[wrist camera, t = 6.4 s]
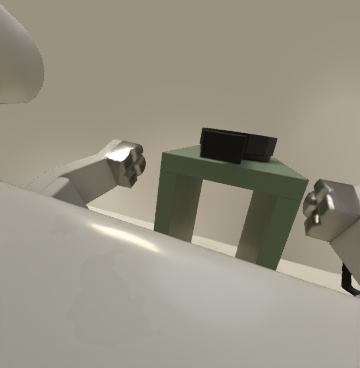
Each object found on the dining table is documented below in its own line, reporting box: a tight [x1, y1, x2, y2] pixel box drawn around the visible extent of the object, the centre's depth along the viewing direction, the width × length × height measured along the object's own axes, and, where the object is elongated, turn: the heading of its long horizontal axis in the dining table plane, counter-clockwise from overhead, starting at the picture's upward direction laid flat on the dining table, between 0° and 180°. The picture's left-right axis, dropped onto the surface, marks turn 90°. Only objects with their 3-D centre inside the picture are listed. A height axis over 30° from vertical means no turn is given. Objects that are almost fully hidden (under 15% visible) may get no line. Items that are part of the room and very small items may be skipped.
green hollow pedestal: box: [154, 145, 309, 271], centre depth 30 cm, size 18×14×26 cm
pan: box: [200, 128, 277, 165], centre depth 20 cm, size 26×10×3 cm, turn 161°
